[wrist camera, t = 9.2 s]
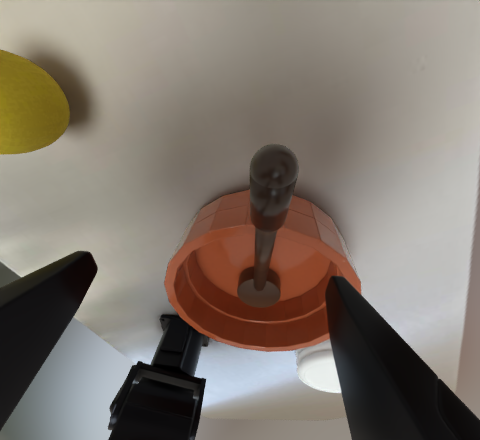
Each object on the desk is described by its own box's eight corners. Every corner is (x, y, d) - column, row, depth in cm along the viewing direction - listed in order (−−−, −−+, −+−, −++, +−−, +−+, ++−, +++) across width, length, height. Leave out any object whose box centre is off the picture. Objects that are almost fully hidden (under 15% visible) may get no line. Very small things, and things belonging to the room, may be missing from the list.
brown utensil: (277, 295, 25) (280, 397, 18) (238, 291, 26) (224, 389, 18) (307, 110, 15) (348, 156, 7) (241, 108, 15) (208, 149, 7)
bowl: (322, 308, 27) (332, 360, 22) (194, 294, 28) (179, 341, 24) (363, 191, 18) (396, 235, 13) (176, 180, 20) (145, 217, 15)
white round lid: (282, 340, 32) (283, 367, 29) (354, 323, 28) (364, 353, 25) (313, 371, 36) (317, 397, 33) (380, 360, 32) (391, 389, 29)
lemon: (62, 39, 15) (-106, 18, 8) (108, 126, 18) (11, 163, 11) (1, 63, 16) (-187, 62, 9) (53, 141, 19) (-63, 182, 12)
